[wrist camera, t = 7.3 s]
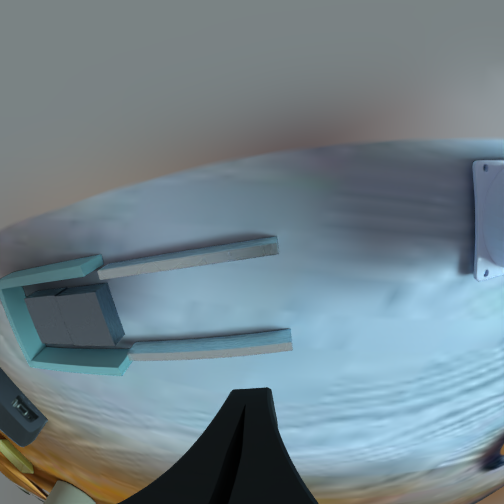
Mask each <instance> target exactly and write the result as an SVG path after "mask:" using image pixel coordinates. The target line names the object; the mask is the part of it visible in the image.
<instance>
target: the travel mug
mask: <svg viewBox="0 0 504 504" xmlns="http://www.w3.org/2000/svg"><path fill="white" fill-rule="evenodd" d="M44 504H95V502H94V501H93V499H92V498H91V497H90V496H88V495H87V494H86V493H84V492H83V491H82V490H80V489H79V488H77V487H75V486H73V485H72V484H69V483H67V482H64V481H57V482H56V484H55V486H54V487H53V489H52V491H51V492H50V494H49V496H48V497H47V499H46V501H45V502H44Z"/></svg>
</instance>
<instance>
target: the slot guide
mask: <svg viewBox="0 0 504 504" xmlns="http://www.w3.org/2000/svg"><path fill="white" fill-rule="evenodd" d="M276 254H279V251H278V242H277V236H275V237H269V238H262V239H256V240H249V241H243V242H237V243H230V244H224V245H218V246H211V247H205V248H199V249H193V250H186V251H180V252H174V253H168V254H162V255H156V256H150V257H144V258H138V259H132V260H126V261H120V262H114V263H109V264H108V265H106V266H104V267H103V268H101V269H99V270H98V275H99V278H100V280H103V279H110V278H117V277H125V276H132V275H139V274H146V273H153V272H160V271H167V270H174V269H181V268H187V267H194V266H201V265H208V264H215V263H222V262H229V261H235V260H242V259H249V258H256V257H262V256H269V255H276ZM291 350H293V348H292V336H291V329H285V330H277V331H269V332H261V333H252V334H243V335H233V336H223V337H211V338H199V339H184V340H168V341H146V342H135V343H134V344H133V346H132V347H131V348H130V350H129V351H128V352H127V356H128V358H129V361H163V360H191V359H210V358H224V357H236V356H247V355H257V354H267V353H275V352H284V351H291Z"/></svg>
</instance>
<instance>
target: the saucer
mask: <svg viewBox="0 0 504 504" xmlns="http://www.w3.org/2000/svg"><path fill="white" fill-rule="evenodd" d="M0 451H1V452H2V453H3V454H4V455H5V456H6V457H7V458H8V459H9V460H10V461H11V462H12V463H13V464H14V465H15V466H16V467H17V468H18V469H19V470H20V471H21V472H22V473H34V470H33V466H32V463H31V462H29V461H28V460H27V459H26V458H25V457H24V456H23V455H22V454H21V453H20V452H19V451H18V450H17V449H16V448H15V447H14V446H13V445H12V444H11V443H10V442H9V441H8V440H7V439H1V440H0Z"/></svg>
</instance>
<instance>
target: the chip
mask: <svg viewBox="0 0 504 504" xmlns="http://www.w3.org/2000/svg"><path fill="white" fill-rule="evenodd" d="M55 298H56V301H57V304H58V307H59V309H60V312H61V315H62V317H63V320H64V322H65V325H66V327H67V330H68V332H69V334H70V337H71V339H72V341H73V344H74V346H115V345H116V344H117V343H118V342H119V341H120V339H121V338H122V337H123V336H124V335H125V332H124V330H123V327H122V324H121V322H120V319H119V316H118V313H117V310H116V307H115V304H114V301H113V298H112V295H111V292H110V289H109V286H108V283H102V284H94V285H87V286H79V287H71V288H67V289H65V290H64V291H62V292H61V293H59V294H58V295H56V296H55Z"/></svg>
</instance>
